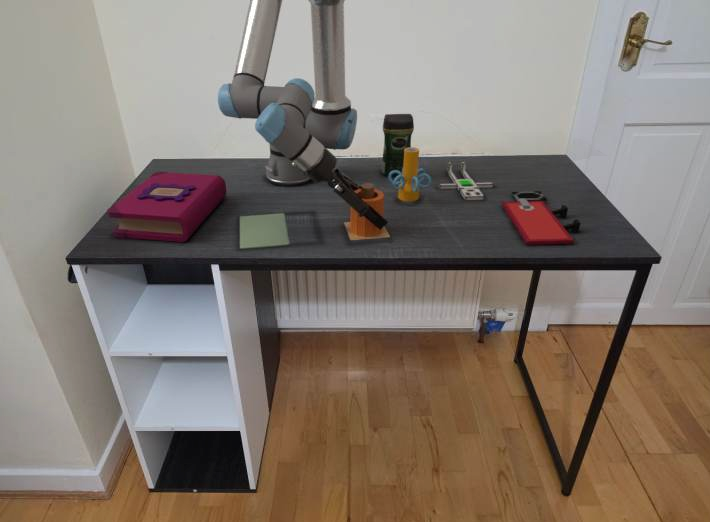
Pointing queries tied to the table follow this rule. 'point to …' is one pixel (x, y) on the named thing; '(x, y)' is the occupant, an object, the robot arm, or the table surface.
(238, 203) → the table surface
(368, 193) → the peg stand
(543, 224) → the red board with handle
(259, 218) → the mat
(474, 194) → the robot figure
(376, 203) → the orange hollow tube
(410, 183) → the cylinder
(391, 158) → the coffee jar
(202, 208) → the book
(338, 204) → the table surface
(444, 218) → the table surface
